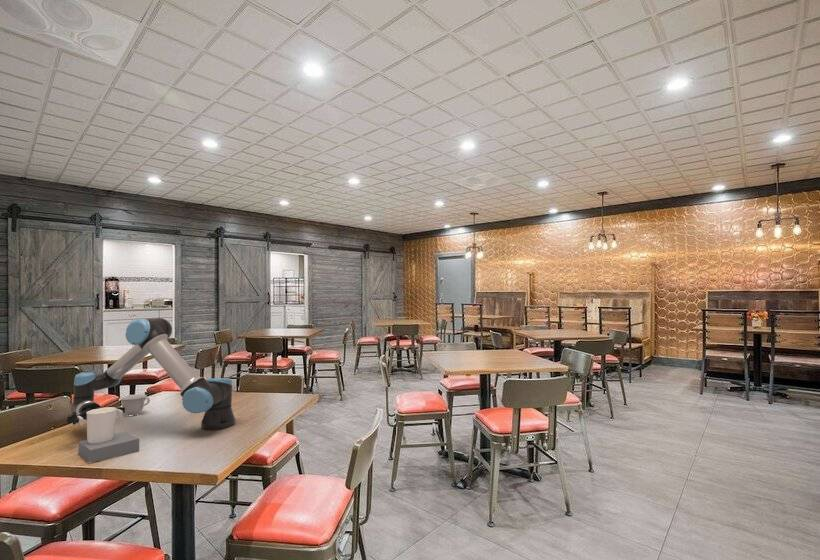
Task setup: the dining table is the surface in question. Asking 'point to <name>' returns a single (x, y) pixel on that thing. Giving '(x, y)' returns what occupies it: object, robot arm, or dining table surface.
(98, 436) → the candle holder
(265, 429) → the dining table surface
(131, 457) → the dining table surface
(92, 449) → the riser block
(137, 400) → the teacup
